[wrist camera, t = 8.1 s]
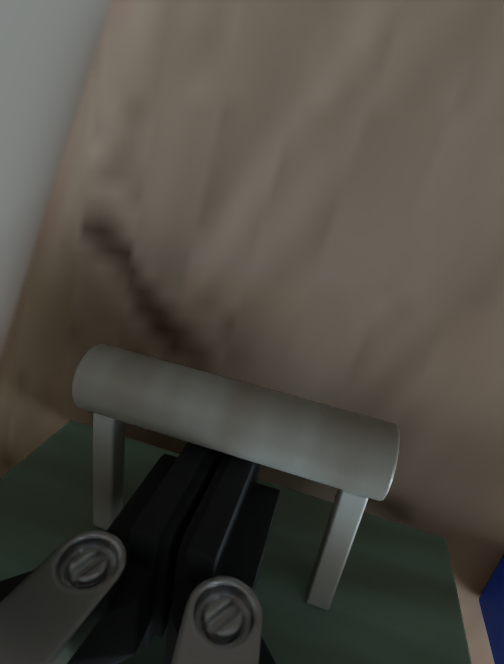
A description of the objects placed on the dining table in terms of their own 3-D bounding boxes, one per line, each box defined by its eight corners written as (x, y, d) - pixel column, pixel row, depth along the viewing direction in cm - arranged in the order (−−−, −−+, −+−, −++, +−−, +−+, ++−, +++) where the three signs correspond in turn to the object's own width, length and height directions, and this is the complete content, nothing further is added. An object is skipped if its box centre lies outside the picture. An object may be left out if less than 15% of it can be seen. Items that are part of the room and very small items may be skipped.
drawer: (67, 279, 13) (-195, 376, 7) (517, 391, 11) (707, 681, 5) (77, 651, 21) (-42, 848, 15) (337, 763, 19) (322, 1050, 13)
